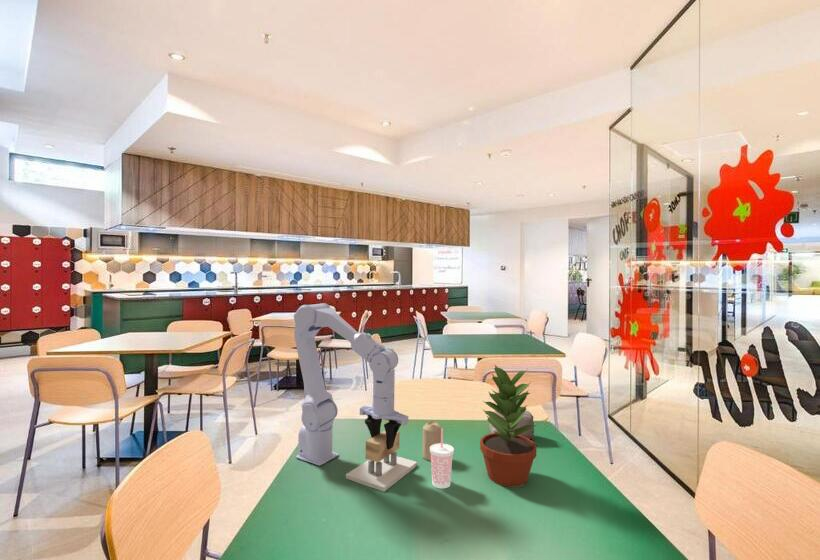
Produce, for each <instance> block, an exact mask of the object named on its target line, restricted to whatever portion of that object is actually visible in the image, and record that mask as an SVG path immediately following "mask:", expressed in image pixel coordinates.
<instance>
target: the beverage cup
mask: <svg viewBox="0 0 820 560" xmlns="http://www.w3.org/2000/svg"><path fill="white" fill-rule="evenodd" d="M454 451H455V448H454V446H452V445H451V444H447V443H444V428H443V427H442V428H441V443H439V444H434V445H432V446H430V453H431V461H430V463H431V465H430V467H431V484H432V486H433V487H434V488H437V489H446V488H449V487H450V486H451V479H452V465H453V455H454Z"/></svg>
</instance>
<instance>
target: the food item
mask: <svg viewBox="0 0 820 560" xmlns="http://www.w3.org/2000/svg"><path fill="white" fill-rule="evenodd" d="M492 412H494V413H496V414H497V415H499V416H500V417H502V418H503V419H504V420H505V421H506V419H505V418H504V416H502V415H501V414H500V413H498V412H497V411H495V410H493V411H492ZM522 416H523V417H522V419H521V420H520V422H519V423H518V424H517V426H516V427H515V428H513V429H512V430H514V429H516V428H517V429H518V428H520V427H523V426H525V425H532V426H535V424H534V423H535V422H534V415H533V414H532V412H530V411H529V410H526V411H525V412H524V413H523V414H522ZM490 418H491V417H490ZM488 425H489V427H488V428H489V430H490V434H491V433H495V432H497V433H500V432H499V431H498V430H497V429H495V428H494V427H493V426H492V425H491V424H490V423H489V422H488ZM493 431H494V432H493ZM510 433H512V432H510ZM519 435H521V436H524V437H526V438H529V439H534V440H535V437H534V436H535V428H534V427H533V428H532V429H530V430H528V431H526V432H523V433H521V434H519Z"/></svg>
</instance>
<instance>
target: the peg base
mask: <svg viewBox="0 0 820 560" xmlns="http://www.w3.org/2000/svg"><path fill="white" fill-rule="evenodd" d="M397 455H398V453H397V452H396V451H395V452H393V453H392V454H390V455H389V456H387V457H386V458H384V459H383V460H381V461H380V462H375V461H372V460H368V459H367V460H366V461H365V462H363V463H361V464H360V465H358V466H357V467H355V468H353V469H352V470H350V471H348V472H347V473H346V474H345V479H347V480H350V481H352V482H355V483H358V484H361V485H363V486H366V487H370V488H372V489H375V490H378V491H381V492H386V491H387V490H388V489H390V488H391V487H392V486H393V485H394V484H396V483H397V482H398V481H400V479H402V478H403V477H405V476H406V475H407V474H408V473H410V472H411V471H412V470H413V469H414V468H415V469H416V468H417V466H418V462H417V461H415V460H412V459H408V458H405V457H401V456H397Z"/></svg>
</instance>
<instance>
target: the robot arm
mask: <svg viewBox="0 0 820 560" xmlns="http://www.w3.org/2000/svg"><path fill="white" fill-rule="evenodd" d="M293 319H294V333H293V336H294V343H295V347H296V352H297V356H298V360H299V366H300V371H301V375H302V380H303V386H304V389H305V394H306V395H305V398H304V399H303V401H302V404H301V410H302V411H301V423H302V426H301V427H300V429H299V432H298V436H297V437H298V440H297V442H298V443H297V446H298V447H297V450H298V451H297V452H298V453H297V455H296V456H295V458H297V459H298V460H302V461H305V462H308V463H311V464H313V465H316V466H323V465H324V464H326V463H327V462H330V461H331V460H333V459H336V457H338V456H339V455H340V454H339V453H338V452H335V451H333V425H334V420H335V419H336V417H337V415H338V411H339V410H338V406H337V404H336V402H335V400H334V399H333V395H332V394H331V393H330V391H327V390H326V387H325V386H326V385H325V381H324V376H323V373H322V372H323V371H322V368H321V362H320V358H319V352H318V349H317V345H316V340H315V337H316V336H317V335H318V333H319V331H320V330H321V329H323V328H329V329H331V330H332V331H333V332H335V333H337V334H338V335H339V336H341V337H342V338H344V339H345V340H346V341H348V342H349V343H350V348H351V350H352V352H355V353H356V354H357V355H359V356H360V357H361V359H364V361H365V362H367V363H369V364H368V365H369V368H370V370H371V372H372V385H373V387H372V406H366V405H363V406H361V407H359V415H360V416H367V417H366V418H364V424H365V425H366V427H367V429H368V432H369V434H370V439H371V438H373V437H374V436H376V435H378V434H380V433H381V426H382V422H383V420H385V421H388V422H385V423H384V424H383V427H384V431H386V445H387V449H388V450H389V449H391V448H392V447H393V445H394V441H395V437H396V434H397V432H399V430H400V428H401V426H406V425H408V424H409V416H408V415H407V414H406V415H405V414H403V413H401V412H399V411H397V410H395V388H396V387H395V386H396V385H395V380H396V377H395V374H396V373H395V372H396V369H395V368H396V367H397V366H398V365H399V357H398V354H397V352H395V350H394V349H393V348H390V347H388V348H386V347H385V345H384V344H380V343H379V342H378V341H376V340H375V338H373V337H372V336H373V335H372V333H371V334H370V333H366V332H363V331H362V332H358V331H357V330H356V329H355V328H354V327H353V326H352V325H350V324H349V323H348V322H347V321H346V320H345V319H343V317H341V316H340V315H339V314H338V313H337V311H336V310H335V308H333V307H331V306H330V305H329V304H328V303H324V302H321V303H316V304H314V303H313V304H303V305H300V306H299V307H298V309H297V310H296V311H295V312H294V314H293Z"/></svg>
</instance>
